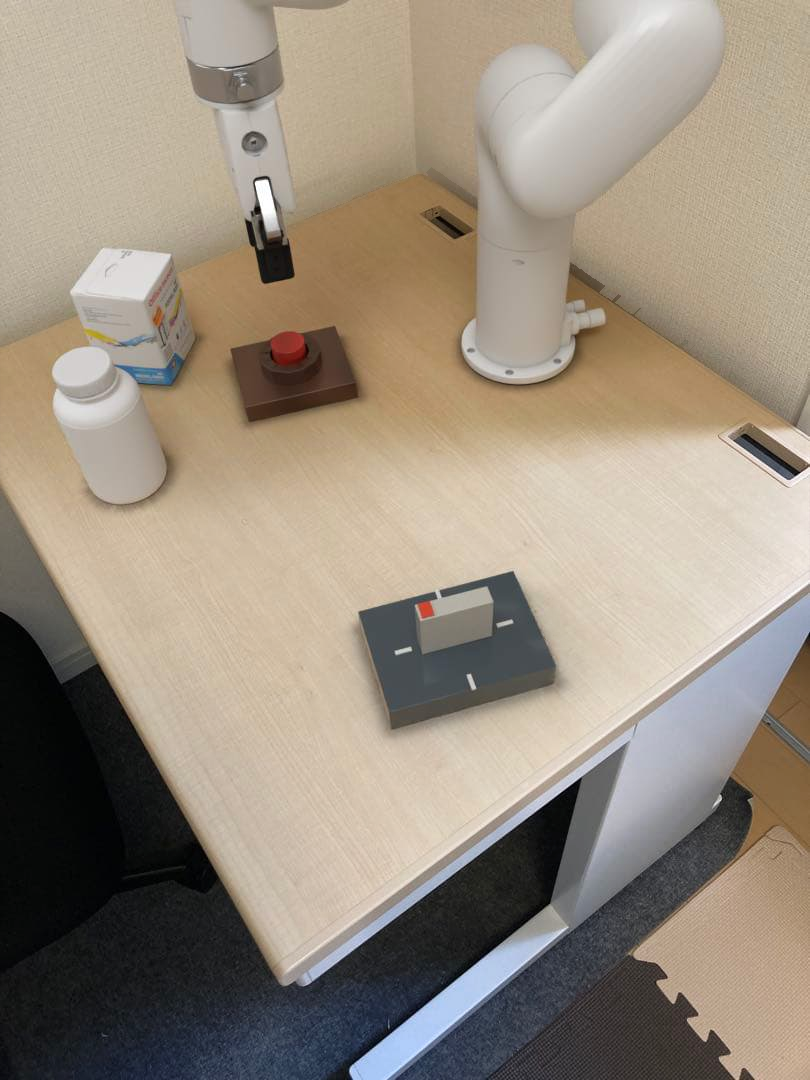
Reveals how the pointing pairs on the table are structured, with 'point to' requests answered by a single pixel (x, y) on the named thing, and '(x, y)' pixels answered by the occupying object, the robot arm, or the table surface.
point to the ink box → (135, 313)
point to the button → (288, 348)
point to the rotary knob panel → (455, 656)
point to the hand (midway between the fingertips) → (271, 259)
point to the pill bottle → (107, 426)
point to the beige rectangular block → (454, 620)
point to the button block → (294, 376)
